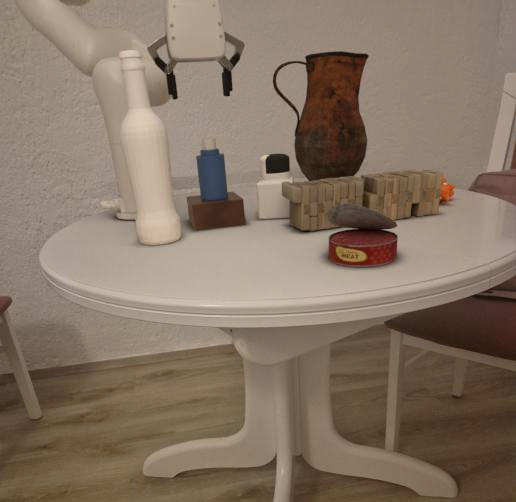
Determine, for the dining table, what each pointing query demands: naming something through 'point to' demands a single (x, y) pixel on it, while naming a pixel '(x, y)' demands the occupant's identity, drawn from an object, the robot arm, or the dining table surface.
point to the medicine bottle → (273, 186)
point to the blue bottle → (211, 171)
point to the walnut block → (216, 212)
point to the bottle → (147, 158)
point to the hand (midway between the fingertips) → (201, 97)
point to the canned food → (361, 237)
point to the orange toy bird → (446, 190)
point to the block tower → (364, 196)
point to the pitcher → (330, 116)
